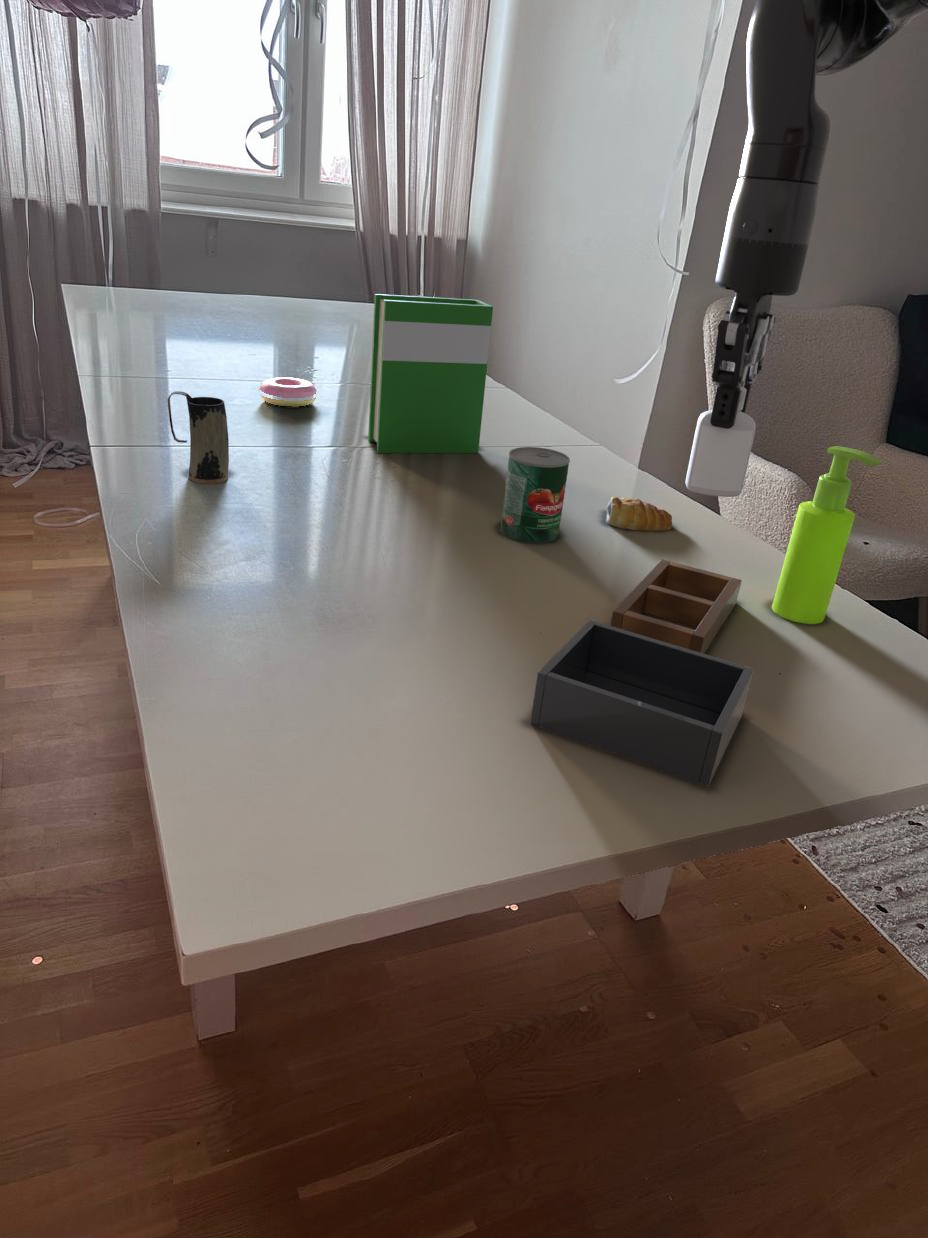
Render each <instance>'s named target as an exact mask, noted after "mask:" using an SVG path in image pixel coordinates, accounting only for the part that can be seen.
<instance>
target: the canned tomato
mask: <svg viewBox="0 0 928 1238" xmlns="http://www.w3.org/2000/svg"><path fill="white" fill-rule="evenodd" d="M570 462H571V459H570V457H569V455H567V454H565V453H563V452H561V451H558V450H555V449H551V448H545V447H538V446H521V447H515V448H512V449H510V450H509V452H508V462H507V470H506V479H505V487H504V495H503V502H502V503H503V505H502V511H501V520H500V523H501V524H500V532H501V533H502V534H503V535H505V536H506V537H508V538H509V539H513V540H516V541H519V542H525V543H532V544H533V543H535V544H541V543H542V544H543V543H549V542H554V541H555V540H557V539H558V538H559V533H560V528H561V522H562V521H561V520H562V513H563V506H564V499H565V494H566V486H567V482H568V481H567V480H568V474H569V466H570Z"/></svg>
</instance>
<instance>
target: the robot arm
mask: <svg viewBox="0 0 928 1238" xmlns="http://www.w3.org/2000/svg"><path fill="white" fill-rule="evenodd" d="M926 12H928V0H756V3H755V5H754V7H753V10H752V13H751V17H750V20H749V24H748V30H747V38H746V104H747V116H748V129H747V133H746V138H745V141H744V148H743V151H742V155H741V162H740V166H739V172H738V178H737V180H736V186H735V189H734V192H733V194H732V198H731V202H730V205H729V208H728V209H729V210H728V214H727V218H726V224H725V229H724V234H723V240H722V245H721V250H720V255H719V260H718V266H717V270H716V275H715V284H716V286H717V287H718V288H720V289H723V290H729V291H733V292H734V298H733V300H732V301H733V302H732V305H731V307H730V310H726V311H725V312H724V315H723V319H721V320H720V321H719V323H718V325H717V336H716V346H715V354H714V362H713V368H712V369H713V370H712V373H711V381H712V383H715V384H714V385H715V387H716V392H715V395H714V396H715V397H714V402H713V406H712V409H711V410H712V415H711V420H710V422H711V425H712V426H715V427H720V428H726V429H729V428H731V427H733V426H734V424H735V419H736V414H737V410H738V405H739V401H740V396H741V391H742V388H743V387H744V388H746V390H747V392H746V396H745V401H744V405H743V409H742V410H741V412H743V413H745V414H746V412H747V407H748V403H749V399H750V394H751V389H752V385H753V383H755V381H756V380H757V377H758V375H759V374H760V372H761V371H762V369H763V363H764V358H765V355H766V352H767V348H768V344H769V342H770V339H771V338H770V337H771V333H772V331H773V327H774V324H775V323H776V313H771V309H772V306H771V305H772V301H773V300H772V299H773V296H777V297H790V296H793V295H795V294H797V292H798V291H799V288H800V283H801V279H802V275H803V271H804V268H805V267H804V266H805V262H806V257H807V253H808V250H809V245H810V240H811V236H812V232H813V228H814V225H815V224H814V223H815V220H816V214H817V207H818V196H819V189H820V185H819V184H821V180H822V175H823V171H824V167H825V162H826V158H827V154H828V150H829V146H830V141H831V135H832V129H833V128H832V127H833V121H832V117H831V115H830V113H829V112H828V111H827V110H826V109H825V108H824V107H823V106H822V105H821V104H820V103H819V102H818V100H817V98H816V97H817V96H816V79H817V78H816V77H817V76H818V77H819V76H828V75H833V74H836V73H839V72H842V71H844V70H847V69H849V68H851V67H854V66H855V65H858V64H859V63H860V62H862V61H864V60H865V59H867V58H868V57H869V56H871V55H872V54H873V53H875V52H876V51H877V50H878V49H880V48H881V47H882V46H884V45H885V44H886V43H887V42H888V41H890V40H891V39H892V38H893V37H895V36H896V35H897V34H899V32H902V30H903V29H904V28H905V27H906V26H907V25H909V24H910V23H911V21H913V20H914V19H915V18H916V17H917V16H919V15H921V14H923V13H926ZM729 364H730V366H729ZM728 366H729V369H727V368H728Z"/></svg>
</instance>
